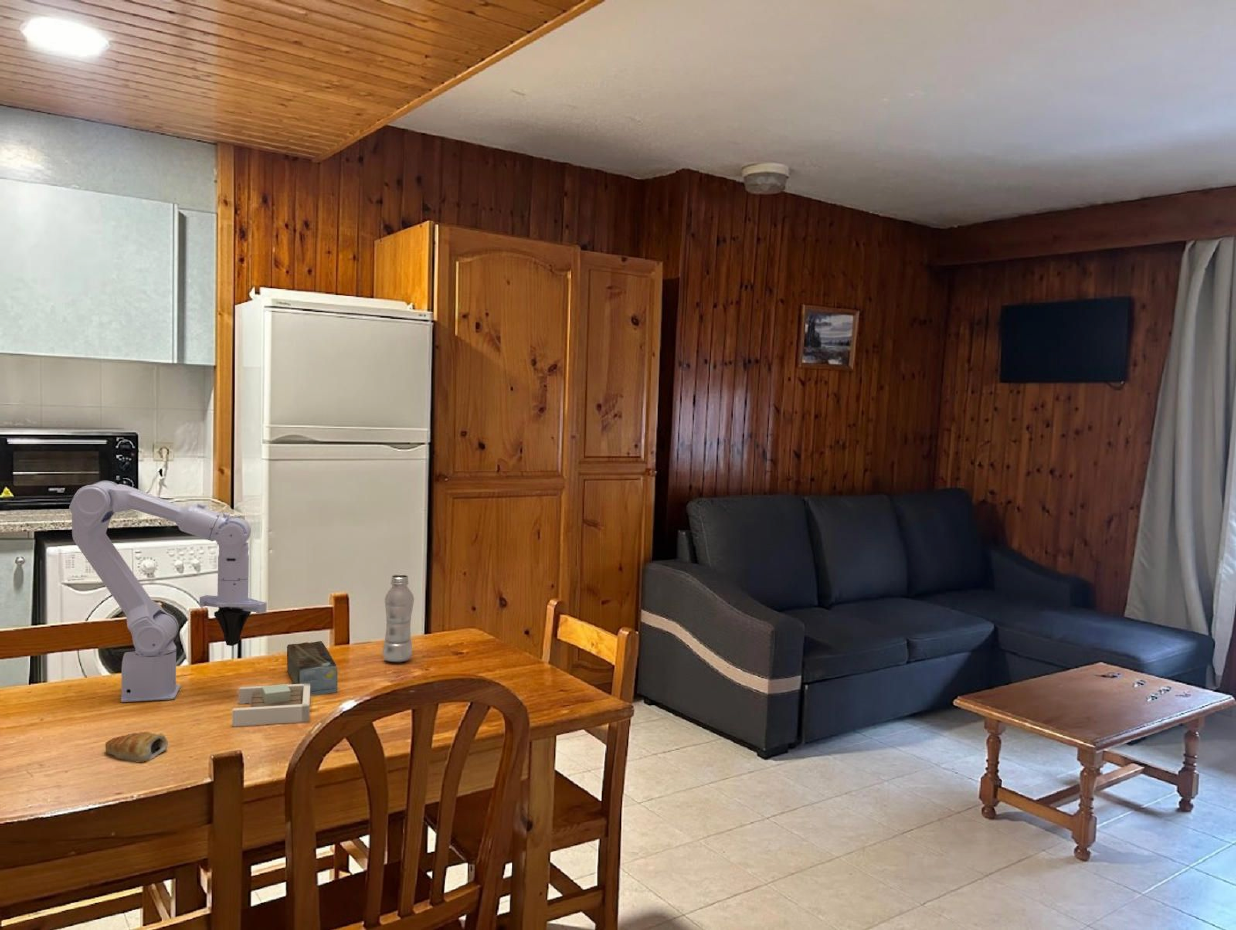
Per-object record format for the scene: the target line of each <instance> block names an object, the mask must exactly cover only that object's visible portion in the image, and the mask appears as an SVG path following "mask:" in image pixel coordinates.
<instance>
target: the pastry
mask: <svg viewBox="0 0 1236 930" xmlns="http://www.w3.org/2000/svg"><path fill="white" fill-rule="evenodd" d="M168 742H169V741H168V739H167V737H166V736H165V735H163V733H162V732H161V733H158V734H157V733H152V732H149V731H139V732H131V733H128V734H126V735H121V736H117V737H113V738H111V739H109V740H107V741H106V742H105V744H104V745H105V751H106V752H107V754H108V755H110V756H113V755H114V757H115V758H116V759H118V760H123V759H125V760H124V761H129V762H135V761H139V762H138V763H145V762H144V761H146V762H148V761H152V760H153V759H155V758H156V757H157V756H158V755H160V754H162V753H163V752H165V751H166V750H167V748H168V745H169V743H168Z"/></svg>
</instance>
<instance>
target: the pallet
mask: <svg viewBox="0 0 1236 930" xmlns="http://www.w3.org/2000/svg"><path fill="white" fill-rule="evenodd" d="M298 704H302V700H301V693H300V690H298V691H291V692H290V701H286V702H278V703H270V704H265V702H264V700H263V698H262V693H253V694H252V700H251V703H250V707H264V706H281V705H298Z"/></svg>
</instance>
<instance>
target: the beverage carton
mask: <svg viewBox="0 0 1236 930" xmlns="http://www.w3.org/2000/svg"><path fill="white" fill-rule="evenodd" d="M286 661H287V662H286V667H287V669H286V670H287V672H288V674H289V677H290V679H291V681H292V684H309V683H310V696H317V695H318V696H319V695H327V694H334V693H337V692H338V666H337V665H336V662H335V660H334V658H333V657H332V656H331V654H330V652H329V650H328V648H327V646H326V645H325V644H324V642H323V641H322V640H319V641H313V642H301V643H292V644H291V643H290V644H287V647H286Z"/></svg>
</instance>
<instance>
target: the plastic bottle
mask: <svg viewBox="0 0 1236 930" xmlns="http://www.w3.org/2000/svg"><path fill="white" fill-rule="evenodd" d="M390 584H391V587H390V589H389V590H388V591H387V593H386V594H385V597H384V607H385V613H386V614H385V615H386V618H385V620H386V624H385V625H386V629H385V635H384V642H383V647H382V656H383V658H384V660H385V661H387V662H390V663H402V662H406V661H409V660H410V658H411V657H412V655H413V654H412V653H413V644H412V638H411V637H412V635H411V634H412V633H411V624H412V623H411V622H412V613H413V608H414V601H415V598H414V594H413V592H412V591H411V590H410V588H409V587H408V585H409V575H406V574H393V575H391V581H390Z"/></svg>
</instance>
